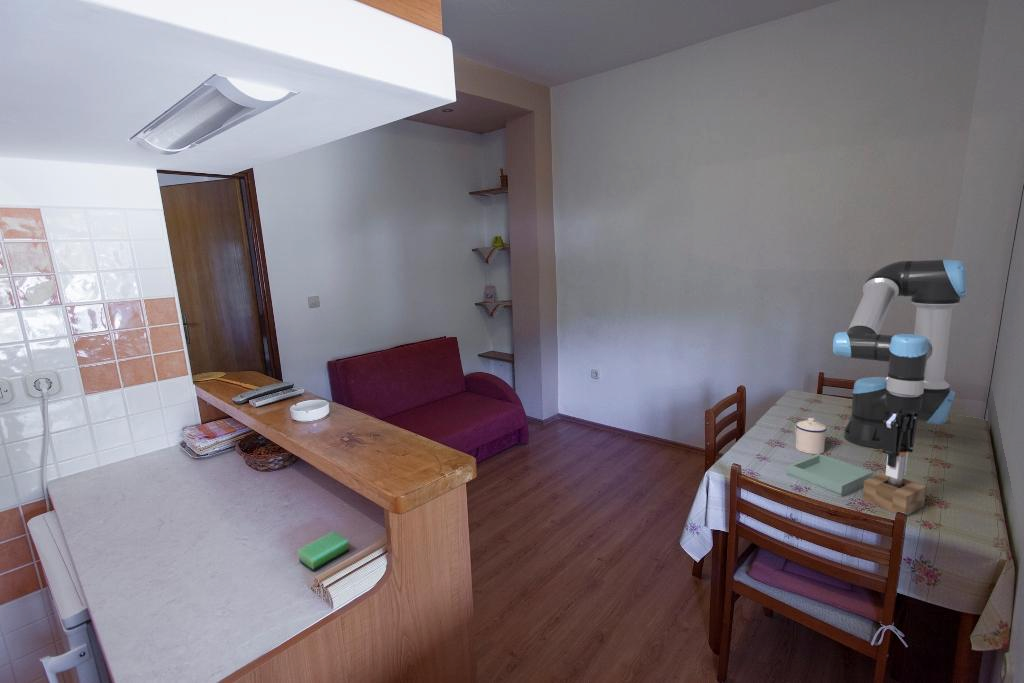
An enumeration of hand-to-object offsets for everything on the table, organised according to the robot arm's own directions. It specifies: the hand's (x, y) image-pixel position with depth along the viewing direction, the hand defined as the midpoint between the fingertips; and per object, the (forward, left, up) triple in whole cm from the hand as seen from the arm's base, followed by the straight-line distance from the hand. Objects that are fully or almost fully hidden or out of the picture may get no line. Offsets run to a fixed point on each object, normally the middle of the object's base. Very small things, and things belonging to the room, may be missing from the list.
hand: (895, 474), depth 128 cm
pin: (0, 0, -8) cm, 8 cm away
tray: (0, -17, -9) cm, 19 cm away
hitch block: (0, 0, -9) cm, 9 cm away
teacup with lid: (-17, -34, -9) cm, 39 cm away
